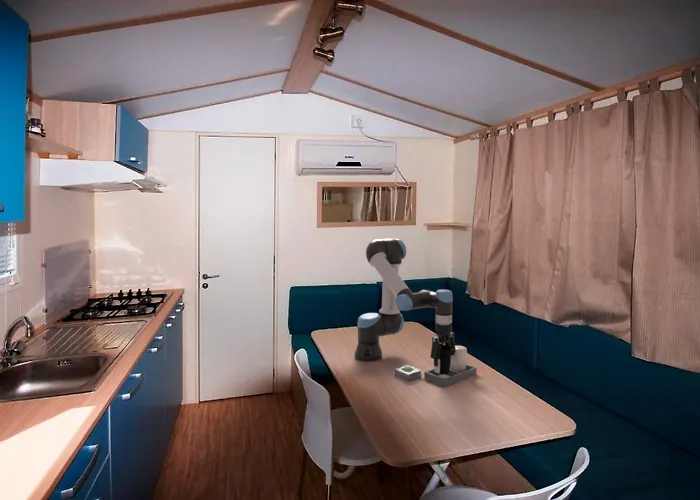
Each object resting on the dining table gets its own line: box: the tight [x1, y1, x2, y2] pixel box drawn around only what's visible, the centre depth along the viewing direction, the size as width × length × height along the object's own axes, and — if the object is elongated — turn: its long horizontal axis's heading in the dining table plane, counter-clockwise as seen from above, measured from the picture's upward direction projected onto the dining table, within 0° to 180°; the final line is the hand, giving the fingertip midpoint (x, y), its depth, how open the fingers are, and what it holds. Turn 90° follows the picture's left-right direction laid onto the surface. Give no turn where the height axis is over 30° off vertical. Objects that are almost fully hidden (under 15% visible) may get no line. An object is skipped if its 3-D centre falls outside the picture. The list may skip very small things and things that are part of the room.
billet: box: [451, 345, 468, 373], centre depth 203 cm, size 8×8×12 cm
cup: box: [436, 344, 452, 374], centre depth 196 cm, size 8×8×12 cm
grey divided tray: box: [423, 363, 478, 388], centre depth 200 cm, size 12×24×4 cm, turn 128°
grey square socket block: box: [394, 364, 422, 383], centre depth 200 cm, size 9×9×4 cm
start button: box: [404, 365, 413, 372], centre depth 200 cm, size 4×4×4 cm
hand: (443, 370), depth 196 cm, fingers open, 8 cm apart
